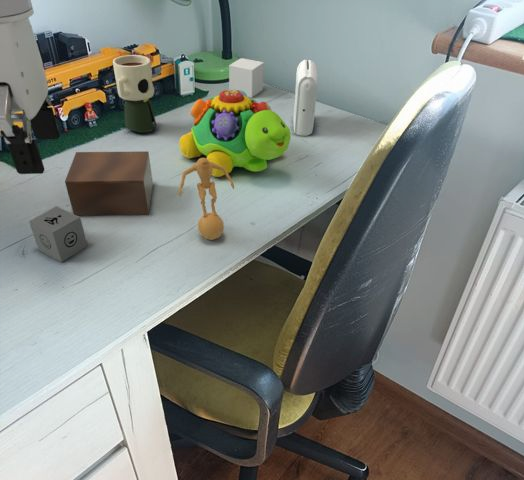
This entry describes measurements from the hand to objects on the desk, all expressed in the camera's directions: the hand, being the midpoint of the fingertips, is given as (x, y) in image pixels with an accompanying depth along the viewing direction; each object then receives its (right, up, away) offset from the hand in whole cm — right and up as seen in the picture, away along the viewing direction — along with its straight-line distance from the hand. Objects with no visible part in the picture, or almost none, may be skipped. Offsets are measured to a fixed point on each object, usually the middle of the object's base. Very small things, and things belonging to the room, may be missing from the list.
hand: (40, 154), depth 67 cm
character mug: (+4, +20, +40) cm, 45 cm away
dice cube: (-1, -10, +10) cm, 15 cm away
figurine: (+21, -7, +14) cm, 26 cm away
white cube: (+25, +36, +56) cm, 71 cm away
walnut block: (+4, 0, +20) cm, 21 cm away
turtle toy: (+25, +10, +31) cm, 41 cm away
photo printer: (+38, +22, +43) cm, 61 cm away
